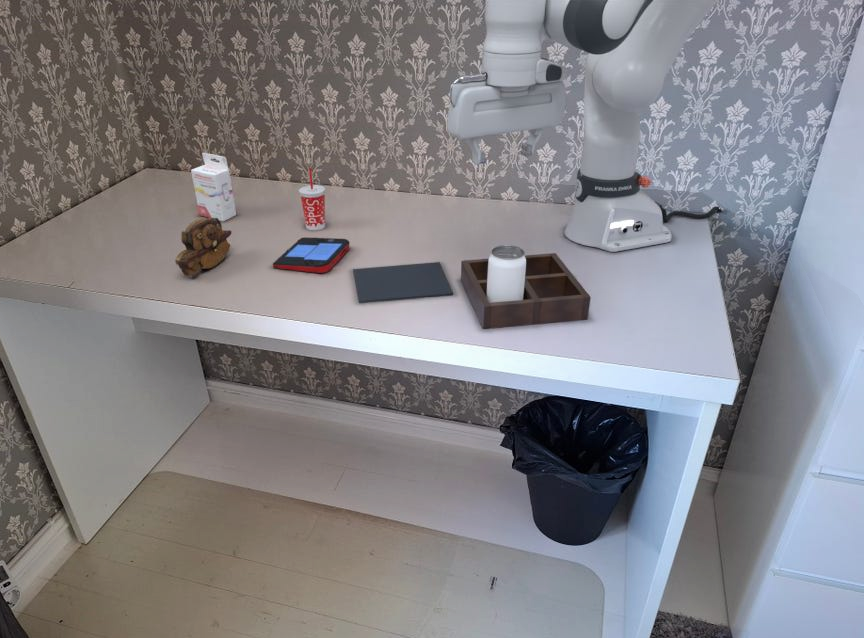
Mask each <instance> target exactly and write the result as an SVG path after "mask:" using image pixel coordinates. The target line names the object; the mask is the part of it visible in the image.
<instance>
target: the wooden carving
mask: <svg viewBox="0 0 864 638" xmlns="http://www.w3.org/2000/svg"><path fill="white" fill-rule="evenodd" d="M230 236H232V230H223V226H222V221H219V219H218V218H212V217H209V218H208V217H207V218H200V219H199V218H198V219H195V220H193V221H192V222H190V223H189V224H188V226H187V227H186V228H185V230H182V231H181V239H180V240H181V243H182V244H183V245H184V246H185V249H184V250H182V251H180V252H179V253H178V254H177V256H176V258H175V264H176V265H177V266H178V267H179V269H180V270H181V272H182V274H183V275H184V276H191V275H192V276H195V275H196V274H198V273H199V271H200V269H204V270H205V269H208V270H209V269H212V268H214V267H216V266H218V264H220V263H221V262H222V261H223V260H224V258H225V257H226V256H227V254H228V252H229V249H230V248H231V243H229V241H228V238H229V237H230Z"/></svg>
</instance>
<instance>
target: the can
mask: <svg viewBox="0 0 864 638" xmlns="http://www.w3.org/2000/svg"><path fill="white" fill-rule="evenodd" d="M490 252H491V253H490V255H489V256H488V257H489V261H488V277H487V296H486V297H487V299H488V301H489V303H493V302H504V301H516V300H523V295H524V283H525V271H526V258H525V253H526V252H525V250H524V249H523V248H522V247H519V246H517V245H511V244H505V245H504V244H502V245H498V246H495V247H493V248H492V249H491V251H490Z"/></svg>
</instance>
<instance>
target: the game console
mask: <svg viewBox="0 0 864 638" xmlns="http://www.w3.org/2000/svg"><path fill="white" fill-rule="evenodd" d="M350 245H351V244H350V241H349V240H348V239H346V238H331V237H330V238H329V237H308V236H307V237H301V238H299V239H298V240H297V241H296V242H295V243H294V244H292V245H291V246H290V247H289V248H287V249H286V251H284V253H283V254H282V255H280V256H279V257H278V258H277V259H276V260H275V261H274V262H272V267H273V268H275V269H279V270H287V271H289V270H291V271H295V272H304V273H313V274H325V273H328V272H330V271H331V269H332V268H334V267H335V266H336V265H337V263H338V262H339V261H340V260H341V258H343V257H344V256H345V254H346V253H347V252H348V251H350Z"/></svg>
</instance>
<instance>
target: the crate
mask: <svg viewBox="0 0 864 638" xmlns="http://www.w3.org/2000/svg"><path fill="white" fill-rule="evenodd" d="M524 256H525V258H526V271H525V283H524V295H523V300H516V301H504V302H493V303H489V301H488V299H487V297H486V296H487V277H488V261H489V258H488V257H487V258H478V259H477V258H476V259H468V260H467V259H465V260H461V261H460V283H461V285H462V287H463V289H464V292H465V294H466V296H467V298H468V300H469V302H470V304H471V307H472V309H473V311H474V313H475V315H476V317H477V318H478V321H479V323H480V325H481V327H482V330H488V329H497V328H508V327H509V328H510V327H519V326H521V327H522V326H532V325H542V324H555V323H565V322H577V321H587V320H588V319H589V312H590V304H591V299H592V297H591V295H590V294H589V293H588V292H587V291H586V289H585V288H584V287H583V285H582V284H581V283H580V282H579V280H578V279H577V277H576V276H575V275H574V274H573V273H572V271H570V268H568V267H567V265H566V264H565V263H564V261H563V260H562V259H561V258H560V256H559V255H558V254H557V253H556V252H550V253H540V254H539V253H538V254H527V255H525V254H524Z"/></svg>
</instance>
